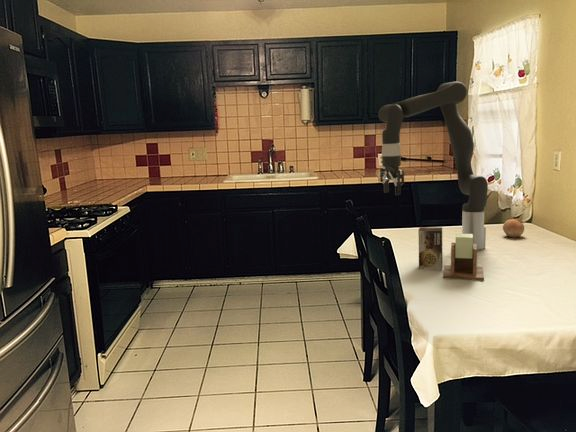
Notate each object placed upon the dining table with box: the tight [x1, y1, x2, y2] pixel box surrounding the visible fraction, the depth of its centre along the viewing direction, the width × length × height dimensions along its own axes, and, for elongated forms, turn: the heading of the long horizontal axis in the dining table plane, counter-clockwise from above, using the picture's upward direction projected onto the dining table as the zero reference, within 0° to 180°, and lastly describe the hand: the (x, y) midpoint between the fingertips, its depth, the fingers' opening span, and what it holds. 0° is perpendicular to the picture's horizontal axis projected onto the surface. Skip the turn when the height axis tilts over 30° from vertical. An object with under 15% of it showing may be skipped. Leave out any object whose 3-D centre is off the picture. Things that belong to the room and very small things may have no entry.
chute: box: [443, 242, 485, 281], centre depth 181 cm, size 14×14×11 cm
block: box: [454, 233, 473, 259], centre depth 180 cm, size 6×6×8 cm
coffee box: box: [417, 226, 444, 271], centre depth 190 cm, size 9×6×16 cm
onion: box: [502, 218, 525, 238], centre depth 233 cm, size 10×9×10 cm
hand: (392, 193), depth 198 cm, fingers open, 8 cm apart
